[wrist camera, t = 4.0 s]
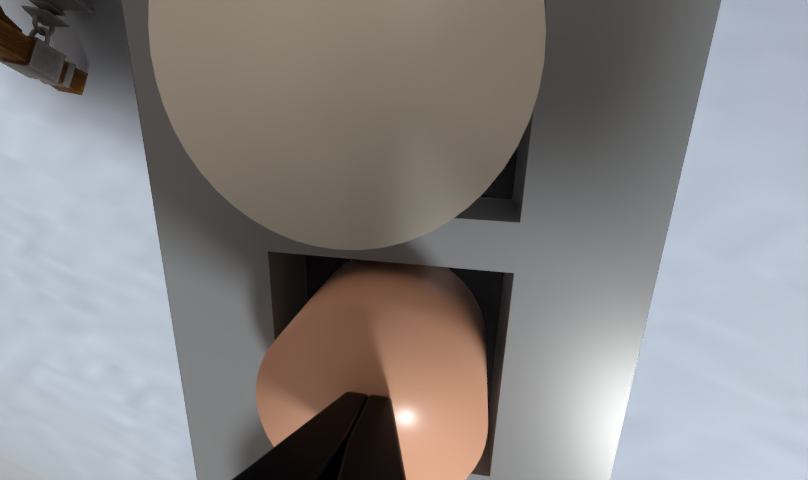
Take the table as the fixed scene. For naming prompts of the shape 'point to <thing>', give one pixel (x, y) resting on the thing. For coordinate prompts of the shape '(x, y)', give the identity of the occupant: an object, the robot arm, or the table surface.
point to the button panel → (469, 246)
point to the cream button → (349, 107)
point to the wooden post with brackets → (42, 46)
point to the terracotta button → (387, 362)
